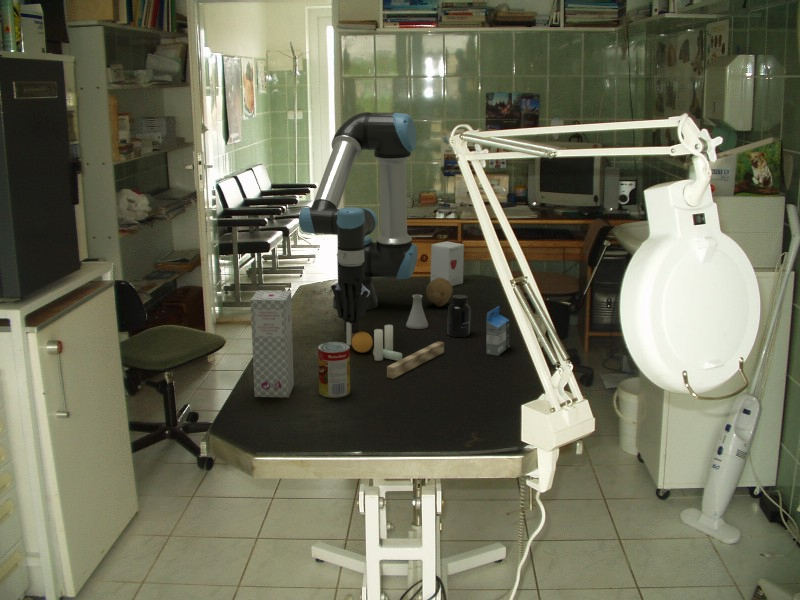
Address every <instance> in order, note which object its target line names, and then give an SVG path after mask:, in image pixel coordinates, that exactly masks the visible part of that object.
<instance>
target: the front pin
mask: <svg viewBox="0 0 800 600" xmlns="http://www.w3.org/2000/svg"><path fill="white" fill-rule="evenodd" d="M372 355H373V356H374V348H373V350H372ZM383 359H387V360H393V361H395V362H397V361H399V360H401V359H403V353H402V352H399V351H394V350H393V351H390V350H386V349H385V348H383Z"/></svg>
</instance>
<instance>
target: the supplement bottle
mask: <svg viewBox="0 0 800 600" xmlns="http://www.w3.org/2000/svg"><path fill="white" fill-rule="evenodd" d="M468 298H469V297H468V296H467V295H464V294H454V295H453V294H452V295H451V304H449V306H448V308H447V335H448V336H450V337H453V338H465V337H468V336H469V335H470V331H471V330H470V329H471V306H470V305H469V304H468V303H469V302H468Z"/></svg>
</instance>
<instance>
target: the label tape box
mask: <svg viewBox="0 0 800 600" xmlns="http://www.w3.org/2000/svg"><path fill="white" fill-rule="evenodd" d="M500 307H501V306H500V305H498V306H496V307H494V308H493V309H491V310H490V311H488V312H487V313H486V336H485V337H486V339H485V340H486V345H485V346H486V347H485V348H486V351H485V353H486V355H491V356H500V355H501V354H502V353H504V352H505V351H506V350H508V349H509V348H510V346H511V345H510V344H511V343H510V342H511V339H510V337H511V330H510V329H511V327H510V326H511V324H510V323H511V321H510V319H508V318H506V317H505V316H503V315H501V314H500V313H499V312H500Z"/></svg>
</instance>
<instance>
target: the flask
mask: <svg viewBox="0 0 800 600" xmlns="http://www.w3.org/2000/svg"><path fill="white" fill-rule="evenodd" d="M411 296H412V306H411V310H410V312H409V316H408V317H407V318H408V319H407V321H406V324H405V327H406V328H407V329H412V330H413V329H414V330H421V329H423V330H424V329H427V328H428V327H429V323H428V320H427V316H426V314H425V311H424V308H423V304H422V299H423V297H424V296H423V295H422V294H412V295H411Z"/></svg>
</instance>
